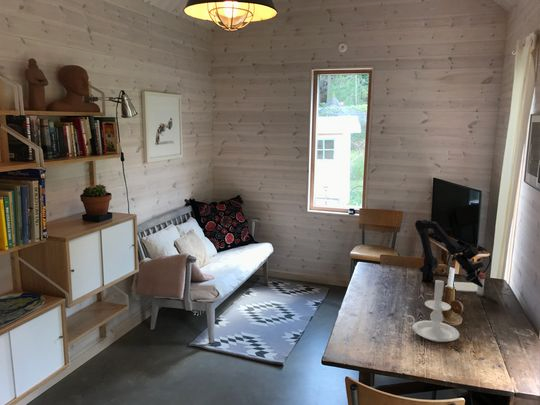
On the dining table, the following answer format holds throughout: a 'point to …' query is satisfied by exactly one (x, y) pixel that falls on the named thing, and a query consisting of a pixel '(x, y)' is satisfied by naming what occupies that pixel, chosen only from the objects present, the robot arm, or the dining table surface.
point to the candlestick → (435, 319)
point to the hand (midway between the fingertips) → (483, 284)
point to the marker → (480, 289)
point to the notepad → (465, 287)
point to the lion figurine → (442, 266)
